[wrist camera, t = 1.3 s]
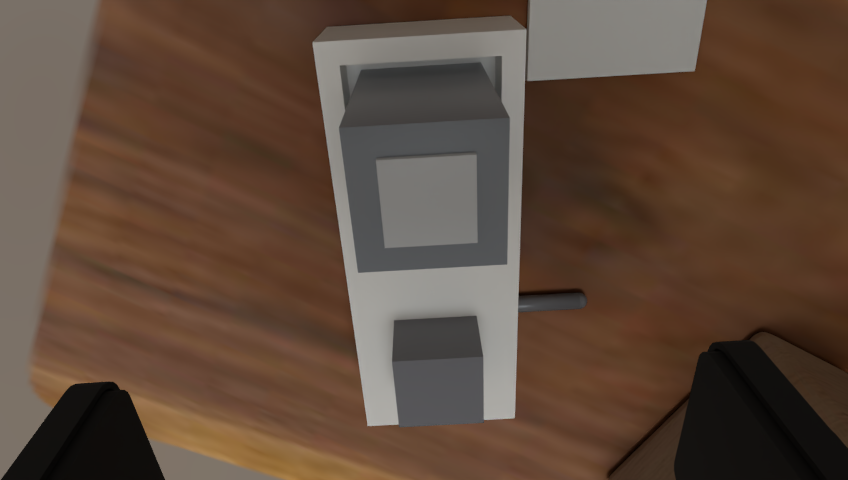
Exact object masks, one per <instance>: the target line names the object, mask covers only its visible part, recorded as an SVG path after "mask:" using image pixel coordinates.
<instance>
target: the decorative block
mask: <svg viewBox="0 0 848 480" xmlns="http://www.w3.org/2000/svg"><path fill="white" fill-rule="evenodd" d="M750 340H751V341H754V342H755V343H756V344H757V345H759V346H760V348H761V349H762V350H763V351H764V352H765V353H766V355H767V356H768V357H769V358H770V359H771V360H772V362H773V363H774V364H775V365H776V366H777V367H778V369H779V370H780V371H781V372H782V373H783V374H784V375H785V377H786V378H787V379H788V380H789V381H790V382H791V384H792V385H793V386H794V387H795V388H796V389H797V391H798V392H799V393H800V394H801V395H802V396H803V398H804V399H805V400H806V401H807V402H808V403H809V405H810V406H811V407H812V408H813V409H814V410H815V412H816V413H817V414H818V415H819V416H820V417H821V419H822V420H823V421H824V422H825V423H826V424H827V426H828V427H829V428H830V429H831V430H832V431H833V432H834V433H835V434H836V435H837V436H838V437H839V438H840V440H841V441H842V442H843V443H844V444H845V445H846V447H847V448H848V373H846V372H844V371H842V370H840V369H839V368H837V367H835V366H833V365H831V364H829V363H827V362H825V361H823V360H821V359H819V358H817V357H815V356H813V355H811V354H809V353H807V352H805V351H803V350H802V349H800V348H798V347H796V346H794V345H792V344H790V343H788V342H786V341H784V340H782V339H780V338H778V337H776V336H774V335H772V334H769V333H767V332H760V333H757V334H755V335H754V336H753V337H752V338H751V339H750ZM688 401H689V399H688V400H687V401H686V402H685V403H684V404H683V405H682V406H681V407H680V408H679V409H678V410H677V411H676V412H675V413H674V414H672V415H671V416H670V417H669V418H668V419H667V420H666V421H665V422H664V423H663V424H662V425H661V426H660V427H659V428H658V429H657V430H656V431H655V432H654V433H653V434H652V435H651V436H650V437H649V438H648V439H647V440H646V441H645V442H644V443H643V444H642V445H641V446H640V447H639V448H638V449H637V450H635V451H634V452H633V453H632V454H631V455H630V456H629V457H628V458H627V459H626V460H625V461H624V462H623V463H622V464H621V465H620V466H619V467H618V468H617V469H616V470H615V471H614V472H613V473H612V474H611V475H610V477H609V479H608V480H676V478H675V473H674V461H675V456H676V452H677V448H678V444H679V439H680V435H681V431H682V427H683V422H684V418H685V414H686V410H687V405H688Z"/></svg>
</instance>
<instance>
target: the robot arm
mask: <svg viewBox="0 0 848 480" xmlns="http://www.w3.org/2000/svg"><path fill="white" fill-rule="evenodd" d="M674 473H675V478H676V480H848V448H847V447H846V445H845V444H844V443H843V442H842V441H841V440H840V438H839V437H838V436H837V435H836V434H835V433H834V432H833V431H832V430H831V429H830V428H829V427H828V426H827V424H826V423H825V422H824V421H823V420H822V419H821V417H820V416H819V415H818V414H817V413H816V412H815V410H814V409H813V408H812V407H811V406H810V405H809V403H808V402H807V401H806V400H805V399H804V398H803V396H802V395H801V394H800V393H799V392H798V391H797V389H796V388H795V387H794V386H793V385H792V384H791V382H790V381H789V380H788V379H787V378H786V377H785V375H784V374H783V373H782V372H781V371H780V370H779V369H778V367H777V366H776V365H775V364H774V363H773V362H772V360H771V359H770V358H769V357H768V356H767V355H766V353H765V352H764V351H763V350H762V349H761V348H760V346H759V345H757V344H756V343H755V342H754V341H751V340H741V341H726V342H715V343H712V344H711V345H710V347H709V349H708V352H702V353H701V354H700V356H699V359H698V363H697V367H696V371H695V375H694V380H693V384H692V388H691V392H690V397H689V401H688V405H687V410H686V414H685V418H684V422H683V427H682V431H681V435H680V439H679V444H678V448H677V452H676V456H675V461H674ZM1 480H165V479H164V476H163V474H162V472H161V469H160V467H159V464H158V462H157V460H156V457H155V455H154V453H153V450H152V448H151V445H150V443H149V440H148V438H147V436H146V433H145V431H144V428H143V426H142V424H141V421H140V419H139V416H138V414H137V412H136V409H135V407H134V405H133V402H132V400H131V397H130V395H129V394H128V392H127V391H125V390H120V389H119V387H118V386H117V384H115V383H114V382H97V383H81V384H74V385H72V386H70V387H69V388H68V389H67V391H66V392H65V393H64V394H63V396H62V397H61V398H60V400H59V401H58V403H57V404H56V405H55V407H54V408H53V409H52V411H51V412H50V414H49V415H48V416H47V418H46V419H45V420H44V422H43V423H42V424H41V426H40V427H39V429H38V430H37V431H36V433H35V434H34V435H33V437H32V438H31V439H30V441H29V442H28V444H27V445H26V446H25V448H24V449H23V450H22V452H21V453H20V454H19V456H18V457H17V459H16V460H15V461H14V463H13V464H12V466H11V467H10V468H9V469H8V471H7V472H6V474H5V475H4V476H3V478H2V479H1Z"/></svg>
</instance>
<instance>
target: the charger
mask: <svg viewBox="0 0 848 480" xmlns="http://www.w3.org/2000/svg"><path fill="white" fill-rule="evenodd" d="M339 133H340V141H341V148H342V156H343V163H344V171H345V179H346V186H347V194H348V201H349V209H350V216H351V224H352V231H353V239H354V247H355V254H356V262H357V269H358V273H364V272H382V271H400V270H418V269H435V268H453V267H471V266H489V265H506V264H507V250H508V195H509V140H510V117H509V115H508V113H507V111H506V109H505V107H504V105H503V104H502V102H501V100H500V98H499V96H498V94H497V92H496V90H495V88H494V86H493V85H492V83H491V81H490V79H489V77H488V75H487V73H486V71H485V69H484V67H483V65H482V64H481V62H478V63H462V64H445V65H429V66H412V67H396V68H380V69H363V70H361V71H360V74H359V76H358V79H357V82H356V84H355V87H354V90H353V92H352V95H351V97H350V100H349V103H348V105H347V108H346V110H345V113H344V116H343V118H342V121H341V123H340V126H339Z"/></svg>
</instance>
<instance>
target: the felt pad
mask: <svg viewBox="0 0 848 480" xmlns="http://www.w3.org/2000/svg"><path fill="white" fill-rule="evenodd" d="M706 3H707V0H528V15H527V47H526V80H527V81H538V80H555V79H572V78H588V77H605V76H621V75H638V74H655V73H671V72H688V71H695V67H696V61H697V55H698V50H699V44H700V38H701V32H702V26H703V21H704V15H705V9H706Z"/></svg>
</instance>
